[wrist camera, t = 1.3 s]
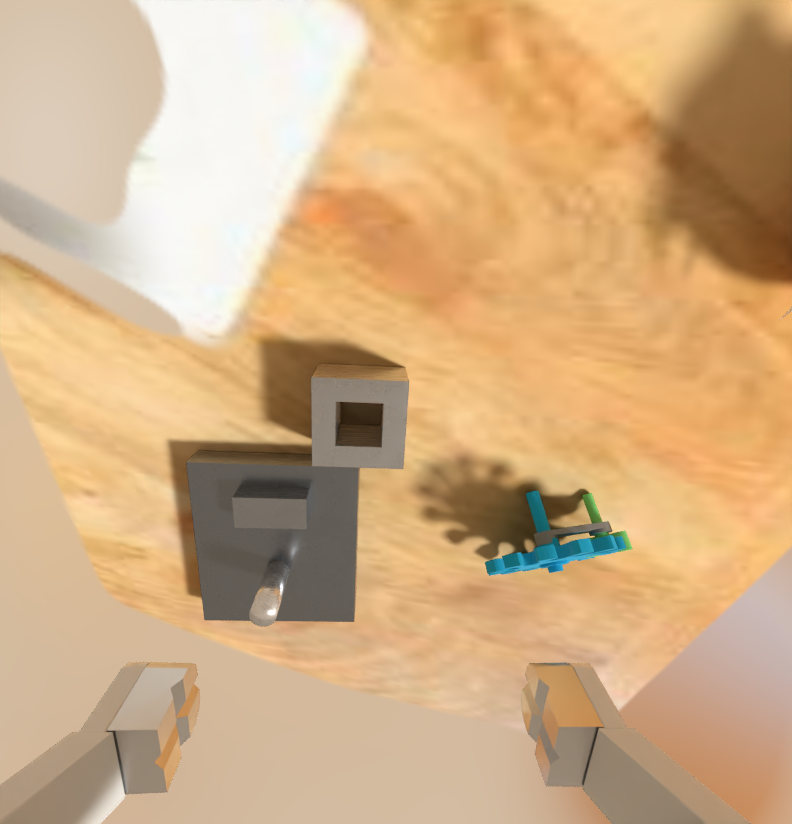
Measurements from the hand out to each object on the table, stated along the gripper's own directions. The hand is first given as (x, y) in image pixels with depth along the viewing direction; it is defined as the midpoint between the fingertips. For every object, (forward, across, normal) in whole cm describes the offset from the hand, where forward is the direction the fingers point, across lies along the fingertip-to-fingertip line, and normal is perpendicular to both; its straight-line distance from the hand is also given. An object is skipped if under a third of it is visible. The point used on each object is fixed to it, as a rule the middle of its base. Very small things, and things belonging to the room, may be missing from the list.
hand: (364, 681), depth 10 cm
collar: (+21, +1, -1) cm, 21 cm away
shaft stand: (+22, +7, +10) cm, 25 cm away
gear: (+22, -14, +9) cm, 27 cm away
